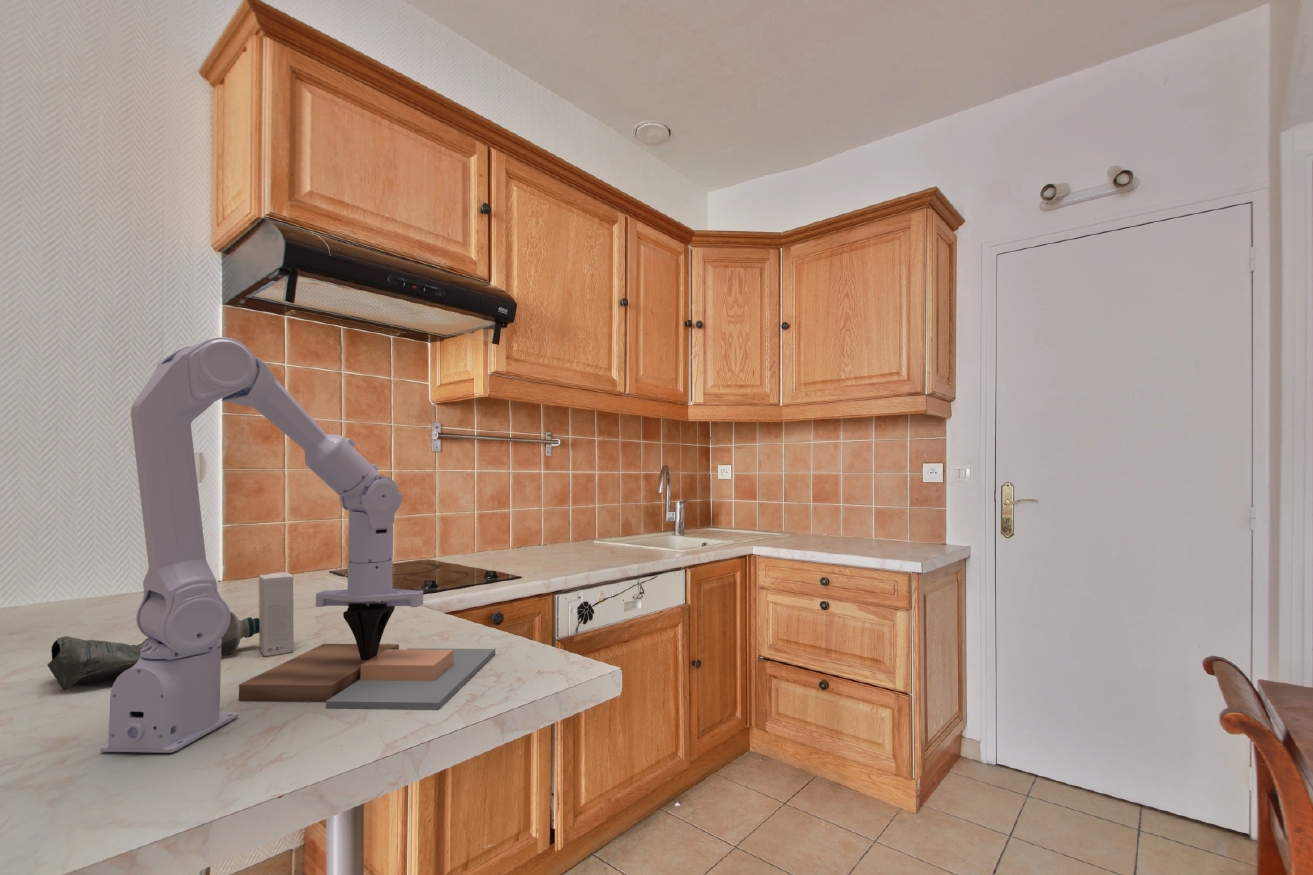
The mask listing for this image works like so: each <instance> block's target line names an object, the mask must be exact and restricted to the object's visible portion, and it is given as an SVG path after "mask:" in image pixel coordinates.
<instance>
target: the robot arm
mask: <svg viewBox="0 0 1313 875" xmlns="http://www.w3.org/2000/svg"><path fill="white" fill-rule="evenodd" d="M219 400H221V401H222V402H224V403H227V404H228V403H229V404H234V405H238V406H243V407H248V408H253V409H254V410H256V411H257V412H258V413H260V414H261V415H262V416H263V417H265V419H267V420H268V421H269V422H270V423H271V424H273V425H274V426H275V427H276V428H277V429H278V430H280V431H282V433H284V434H285V435H286V436H287V437H288V438H289V439H291V440H292V441H293V442H294V443H295V444H297V446H299V447H300V448H301V449H302V450H304V464H305V466H307V468H309V470H311V471H312V473H314V474H315V475H317V477H319V479H320V480H322V481H323V482H324V483H325V484H326V485H328V487H329V488H330V489H332V490H333V491H334V492H335V493H336V494H337V495H338V496H339V500H340V504H341V507H342V509H344V510H345V511H348V539H347V540H348V544H347V545H348V546H347V547H348V548H347V549H348V550H347V554H348V555H347V588H346V589H334V590H333V589H331V590H328V589H327V590H321V591H318V592H316V593H315V607H316V608H322V607H327V606H328V607H335V606H336V607H338V606H339V607H347V610H345V611H344V612H343V613H342V614H343V615H342V617H343V619H344V620H345V623H347V625H348V626H349V628H350V630H351V633H352V634H353V636H354V639H355V644H357V646H358V650H359V654H360V659H361V660H370V659H371V658H373V657H375V656H376V655H377V653H378V648H379V644H381V639H382V638H383V634H384V631H385V629H386V626H387V624H388V622H389V620H390V618H391V616H392V614H393V613H394V611H395V608H396V607H409V608H418V607H420V606H422V605H424V590H414V589H413V590H412V589H411V590H410V589H401V588H393V562H394V560H393V559H394V558H393V557H394V556H393V555H394V554H393V553H394V551H393V550H394V524H395V516H396V512H397V511H398V510H399V508H400V507H401V505H402V501H403V494H402V493H400V490H399V486H398V485H397V483H396V481H394V480H393V479H392V478H391V477H389V476H384V475H379V472H378V471H379V467H378V466H377V465H376V464H375V463H370V462H369V461H367V460H366V458H365V457H364V456H362V454H361V453H360V452H358V451H357V450H356V449H355V446H356V444H357V443H356V442H355V441H354V440H353V439H352V438H350V437H348V438H346V437H345V438H344V436H343V435H341V434H329V433H328V434H327V433H326V432H325V431H324V430H323V428H321V426H320V425H319V424H318V423H317V422H316V421H315V420H314V419H313V417H312V416H311V415H310V414H309V413H308V412H307V410H305V409H304V408H303V407H302V406H301V404H300V403H299V402H298V401H297V400H296V399H295V398H294V397H293V395H291V393H289V391H288V390H287V389H286V388H285V387H284V386H283V385H282V383H280V381H279V380H278V379H277V377H276V376H275V374H274V373H273V372H272V371H271V369H270V367H269V366H268V364H266V363H265V362H264V361H263V360H261V359H260V358H258V357H255V356H254V354H253V352H252V351H251V350H250V348H248V347H247V345H245V344H244V343H242V342H241V341H239V340H237V339H234V338H231V337H226V336H225V337H224V336H215V337H211V338H207V339H206V340H204V341H202V342H200V343H197V344H194V345H192V346H186V347H182V348H181V349H178V350H176V351H175V352H173V353H171V354H170V355H169V356H167V357H165V358H164V359H162V360H160V361H159V362H157V364H156V367H155V370H154V372H153V373H152V375H151V377H150V378H149V380H148V381H147V383H145V385H144V387H143V388H142V389H141V391H140V393H139V394H138V396H137V397H136V399H135V400H134V401H133V403H132V405H131V407H130V408H131V409H130V419H131V427H132V437H133V446H134V454H135V462H136V471H137V477H138V478H137V479H138V488H139V494H140V503H141V512H142V522H143V528H144V529H143V531H144V538H145V544H146V545H145V547H146V554H147V555H146V556H147V563H148V564H147V565H148V569H147V572H146V574H145V576H144V578H143V582H142V586H143V596H142V600H141V603H140V604H139V607H138V608H137V612H136V616H135V618H136V620H135V621H136V626H137V628H138V630H139V631H140V633H142V634H143V636H146V637H147V638H148V640H146V639H145V640H146V642H145V644H144V645H143V647H142V649H141V650H140V658H139V660H138V661H137V662H135V664H134V665H133V666H131V667H130V668H128V669H125V670H124V671H122V673H120V674H119V675H118V676H117V677H116V679H115V680H114V682H113V684H112V687H111V689H110V694H109V697H110V700H109V719H108V720H109V721H108V722H109V724H108V743H106V744H103V745H102V746H101V747H100V752H102V753H104V752H105V753H106V752H107V753H108V752H109V753H111V752H112V753H154V754H155V753H159V754H163V753H164V754H165V753H167V754H170V753H174V752H177V751H178V750H181V749H182V748H184V747H186V746H188V745H189V744H191V743H193V742H194V741H197V740H198V739H200V738H202V737H204V736H205V735H207V734H209V733H211V732H213V731H214V730H216V729H218V728H220V727H222V726H224V725H225V724H227V723H229V722H230V721H233V720H234V719H236V718H238V717H239V712H237V711H220V710H221V708H220V707H221V702H220V701H221V675H222V674H221V673H222V654H221V644H222V640H221V638H222V637H223V636H224V634H225V633H226V631H227V629H228V627H229V624H230V617H231V616H230V611H231V610H230V607H229V606H228V604H227V602H225V600H224V599H223V598H222V597H221V594H220V593H219V590H218V584H217V578H216V577H215V575H214V573H213V571H212V569H211V568H210V565H209V562H208V561H207V555H206V547H205V537H204V530H203V528H204V527H203V519H202V512H201V502H200V494H199V485H198V476H197V470H196V467H197V466H196V459H195V458H196V457H195V451H194V450H195V449H194V442H193V432H192V422H193V421H194V420H195V419H197V418H198V417H200V415H201V414H203V413H205V411H206V410H208V409H209V408H210V407H211V406H212V405H213V404H214V403H215V402H217V401H219Z"/></svg>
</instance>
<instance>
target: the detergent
mask: <svg viewBox="0 0 1313 875" xmlns="http://www.w3.org/2000/svg"><path fill="white" fill-rule="evenodd" d="M230 616H231V617H230V624H229V627H228V629H227V631H226V633H225V634H224V636H223V637H222V638H221V640H222V644H221V655H229V654H232V653H234V652H235V651H236V650H237V649H238V647H239V645H240V642H241V640H242V639H243V638H245V639H248V638H252V637H253V636H254V635H256V634H259V617H254V618H252V617H246V618H243V619H241V620H240V619H239V618H238V616H237V614H236V613H234V612H233V611H231V610H230ZM146 640H148V637H147V638H146V639H144V640H143V641H142V642H141V643H139V644H127V643H122V642H115V641H114V642H112V641H107V640H96V639H81V638H78V637H71V636H67V635H66V636H61V637H58V638H57V639H55V641H53V643H52V646H51V650H50V651H51V661H49V663H47V664H46V666H47V667H48V669H49V671H50V672H51V674H52V675H53V676H54V679H55V680H56V682H57V683H58V685H59V686H60V688H61V689H62V690H66V689H68V688H70V687H72V686H73V685H74V684H75V683H77V682H78V681H79V680H80V679H82V678H84V677H88V676H90V675H93V674H96V673H98V672H102V671H105V670H107V669H111V668H114V667H118V666H121V665H126V664H129V663H137V661H138V660H139V658H140V650H141V649H142V647H143V645H144V644H145V642H146Z"/></svg>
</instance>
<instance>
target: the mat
mask: <svg viewBox="0 0 1313 875" xmlns="http://www.w3.org/2000/svg"><path fill="white" fill-rule="evenodd" d="M405 650H454V662H453V665H452V666H450V667H449V668H448V669H447V670H446V671H445V672H443V673H442V674H441V675H440V676H439V677H437V678H436V679H435V680H434V681H407V680H358V681H357V682H355V683H353V684H352V685H350V686H349V687H347V688H346V689H344V690H343V691H341V692H340V693H338V694H336V695H335V696H333V697H332V698H330V699H329V700H327V701H326V702H325V709H364V710H365V709H368V710H370V709H373V710H374V709H375V710H379V709H380V710H384V709H385V710H389V709H390V710H440V709H441V708H442V707H443V706H444V705H445V704H446V703H447V702H448V701H449V700H450V699H451V698H453V696H454V695H455V694H457V692H458V691H459V690H461V688H463V686H464V685H465V684H466V683H467V682H469V681H470V679H472V678H473V677H474V675H476V674H477V673H478V672H479V671H480V670H481V669H482V668H483V667H484V666H485V665H486V664H487V663H488V662H489V661H490V660H491V659H492V658H494V656H495V655H496V648H425V647H424V648H422V647H421V648H420V647H419V648H417V647H416V648H413V647H411V648H410V647H408V648H406V649H405Z"/></svg>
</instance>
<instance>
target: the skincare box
mask: <svg viewBox="0 0 1313 875" xmlns="http://www.w3.org/2000/svg"><path fill="white" fill-rule="evenodd" d="M258 609H259V610H258V612H259V614H258V618H259V633H258V635H259V644H258V645H259V649H260V651H261V653H262V655H263V656H264V657H271V656H272V657H273V656H277V655H279V656H280V655H283V654H289V653H293V651H294V649H295V648H294V644H295V643H294V576H293V575H292V574H291V573H289V572H287V571H281V572H273V573H265V574H260V575H259V576H258Z"/></svg>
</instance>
